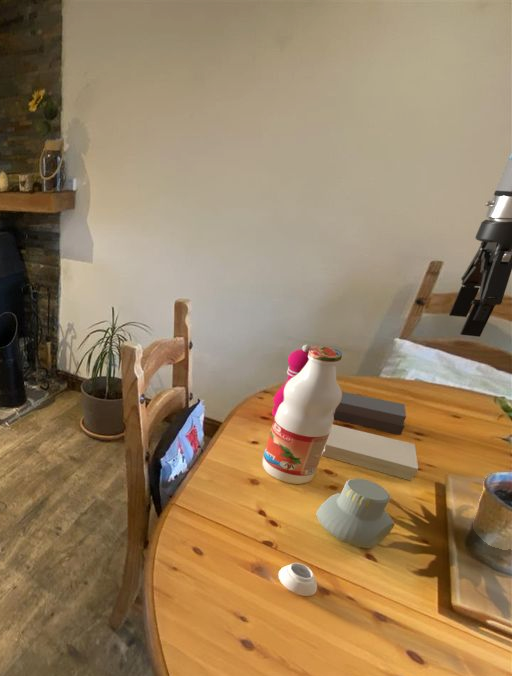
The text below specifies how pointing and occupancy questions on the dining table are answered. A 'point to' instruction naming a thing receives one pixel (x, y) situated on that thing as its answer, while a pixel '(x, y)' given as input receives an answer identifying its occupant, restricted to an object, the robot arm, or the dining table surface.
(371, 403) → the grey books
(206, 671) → the dining table surface
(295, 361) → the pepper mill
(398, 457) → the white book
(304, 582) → the small white bowl
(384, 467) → the light grey flat block
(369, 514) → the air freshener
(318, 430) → the fruit juice
